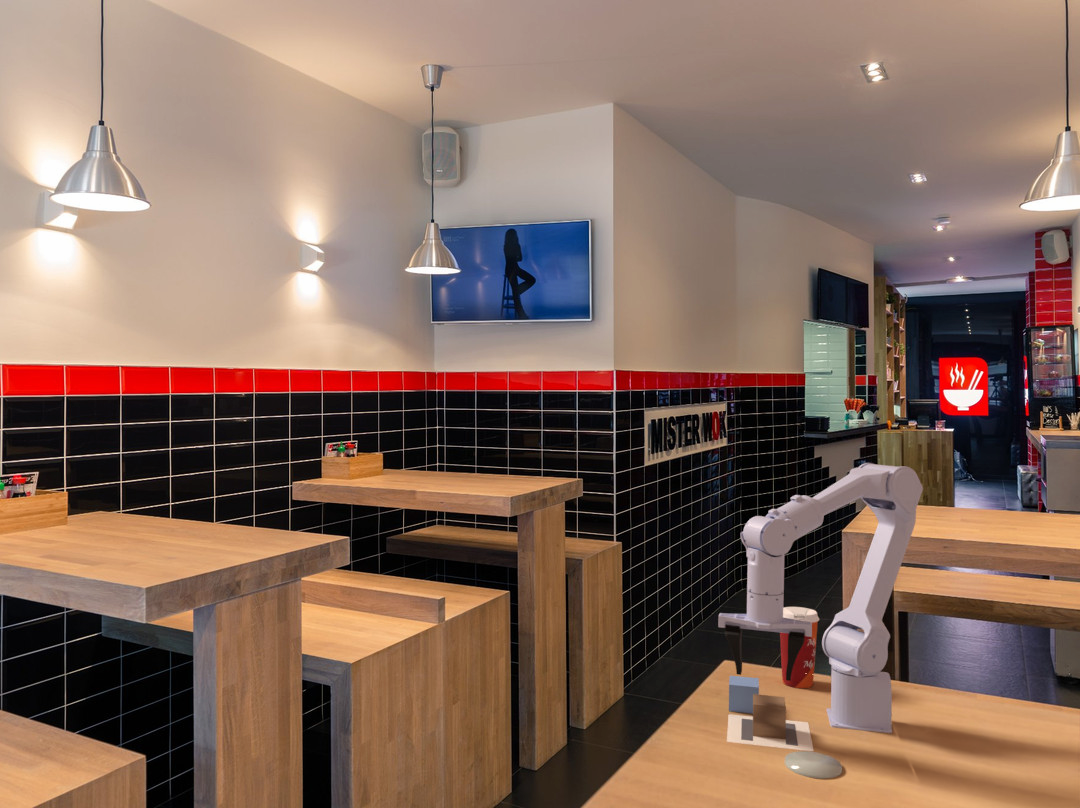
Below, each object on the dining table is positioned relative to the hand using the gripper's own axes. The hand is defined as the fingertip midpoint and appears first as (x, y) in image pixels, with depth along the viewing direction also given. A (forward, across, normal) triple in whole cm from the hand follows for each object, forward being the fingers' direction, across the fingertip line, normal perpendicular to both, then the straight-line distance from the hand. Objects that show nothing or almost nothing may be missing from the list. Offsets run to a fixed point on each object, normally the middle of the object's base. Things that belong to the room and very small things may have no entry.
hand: (763, 675), depth 132 cm
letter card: (+10, +1, +1) cm, 10 cm away
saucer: (+10, +8, -10) cm, 16 cm away
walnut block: (+9, +1, +1) cm, 9 cm away
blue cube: (+10, -4, +11) cm, 15 cm away
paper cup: (+10, +5, +28) cm, 30 cm away
